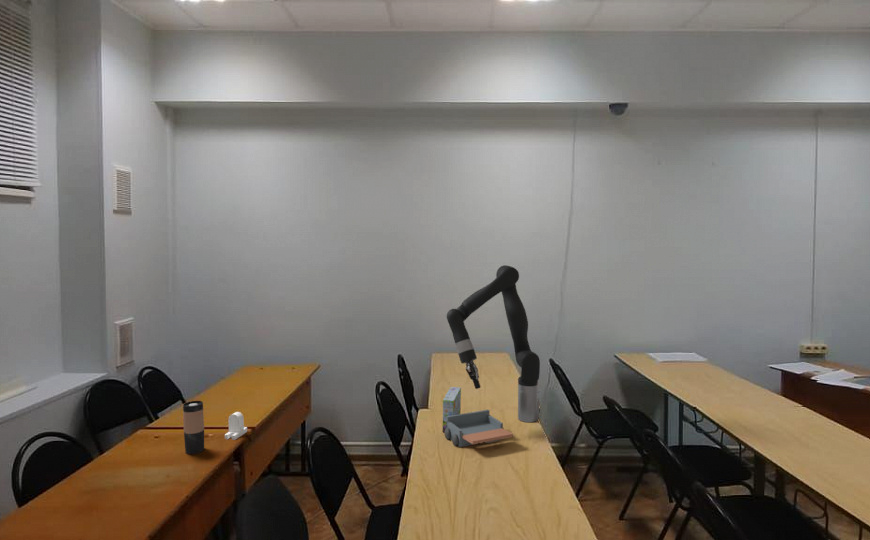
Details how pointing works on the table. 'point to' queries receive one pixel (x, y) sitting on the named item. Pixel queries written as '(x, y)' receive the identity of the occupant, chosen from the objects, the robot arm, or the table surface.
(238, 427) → the cable organizer
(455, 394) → the snack box
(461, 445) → the trailer
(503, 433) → the tailgate
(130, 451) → the table surface
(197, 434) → the travel mug
